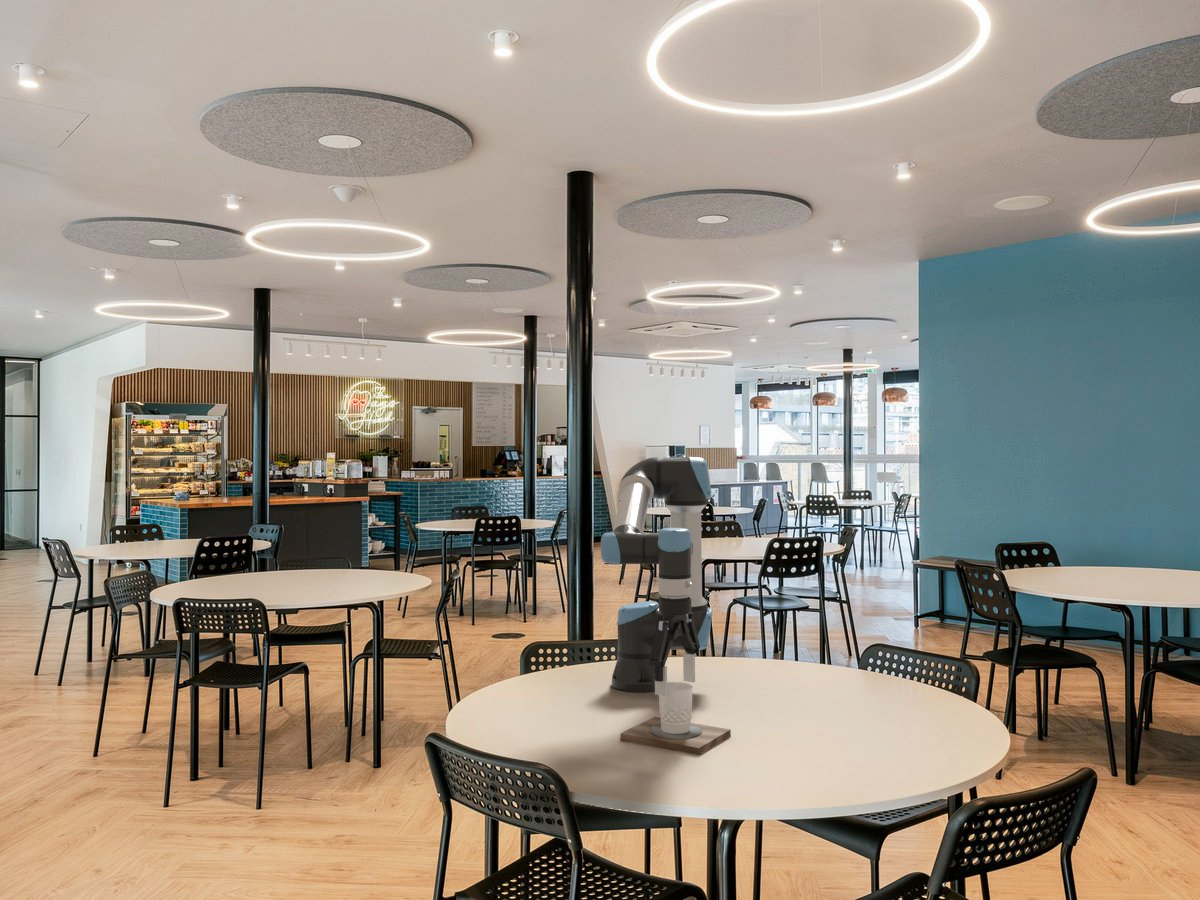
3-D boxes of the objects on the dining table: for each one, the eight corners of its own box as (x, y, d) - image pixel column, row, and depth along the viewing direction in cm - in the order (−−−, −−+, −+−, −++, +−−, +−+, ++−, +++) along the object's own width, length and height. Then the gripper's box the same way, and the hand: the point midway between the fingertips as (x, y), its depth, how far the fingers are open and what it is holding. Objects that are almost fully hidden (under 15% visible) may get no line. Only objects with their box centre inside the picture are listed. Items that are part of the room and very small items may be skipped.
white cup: (667, 723, 210) (667, 680, 210) (698, 728, 206) (698, 684, 206) (652, 731, 203) (652, 687, 204) (683, 737, 199) (683, 692, 200)
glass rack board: (655, 722, 217) (655, 715, 217) (730, 736, 206) (730, 728, 206) (620, 739, 204) (620, 731, 204) (699, 755, 193) (698, 746, 193)
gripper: (662, 605, 193) (663, 703, 193) (713, 589, 214) (714, 678, 214) (632, 602, 197) (633, 698, 197) (685, 587, 218) (686, 674, 218)
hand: (675, 688), depth 205 cm, fingers open, 13 cm apart
